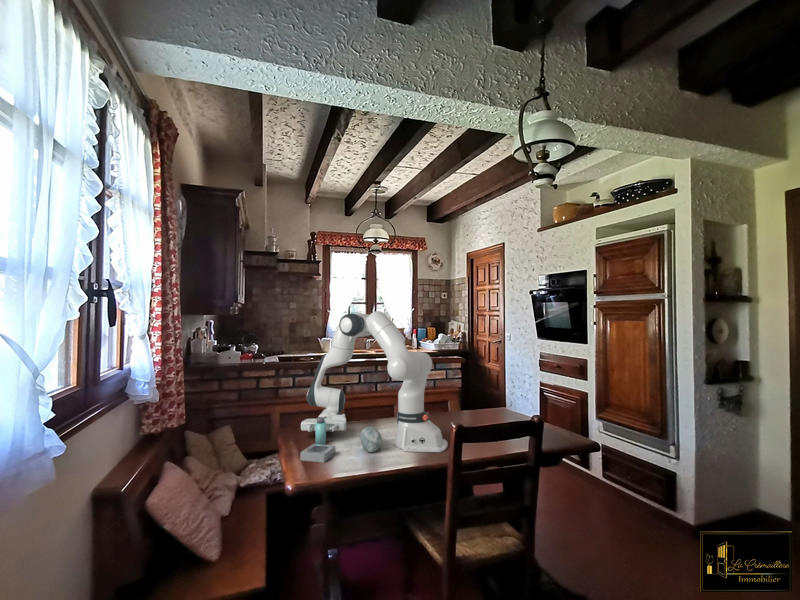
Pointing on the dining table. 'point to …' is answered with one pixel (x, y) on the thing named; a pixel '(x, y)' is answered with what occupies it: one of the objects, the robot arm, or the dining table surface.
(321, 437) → the bottle
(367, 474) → the dining table surface
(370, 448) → the spool
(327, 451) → the housing
